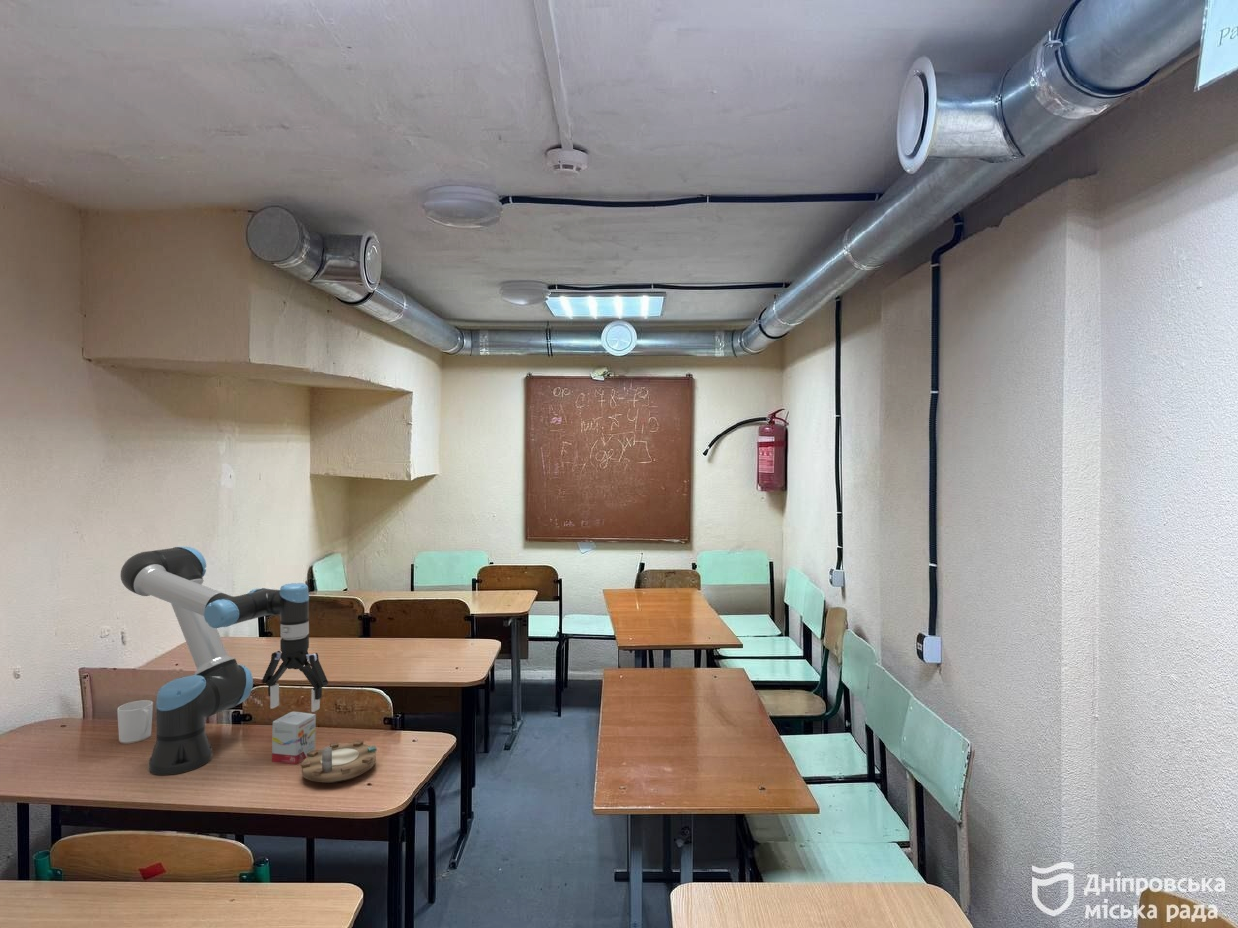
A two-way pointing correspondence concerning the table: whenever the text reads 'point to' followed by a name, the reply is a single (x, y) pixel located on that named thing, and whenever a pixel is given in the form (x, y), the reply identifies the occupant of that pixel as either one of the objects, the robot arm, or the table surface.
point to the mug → (135, 721)
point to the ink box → (293, 737)
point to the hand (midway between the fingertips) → (295, 708)
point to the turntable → (338, 762)
